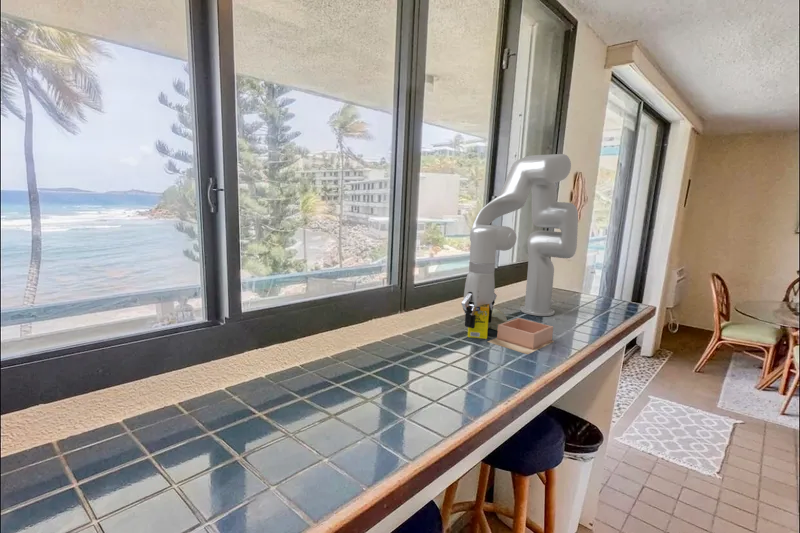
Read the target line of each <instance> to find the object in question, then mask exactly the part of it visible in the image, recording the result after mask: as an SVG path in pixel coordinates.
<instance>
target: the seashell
mask: <svg viewBox="0 0 800 533" xmlns="http://www.w3.org/2000/svg"><path fill="white" fill-rule="evenodd" d="M507 321H508V319H507V316H506V315H505V313H504V312H503V311H501V310H500V309H497V308H494V307H493V310H492V317H491V322H490V323H488V329H491V330H495V331H497V332H498V325H499V324H501V323H504V322H507Z"/></svg>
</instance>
